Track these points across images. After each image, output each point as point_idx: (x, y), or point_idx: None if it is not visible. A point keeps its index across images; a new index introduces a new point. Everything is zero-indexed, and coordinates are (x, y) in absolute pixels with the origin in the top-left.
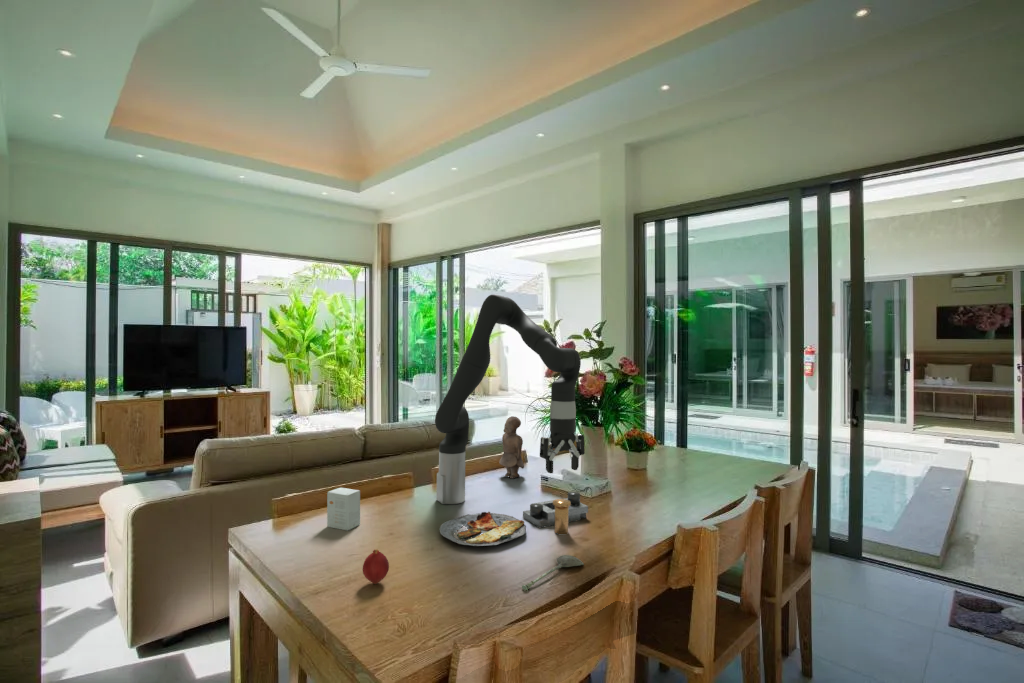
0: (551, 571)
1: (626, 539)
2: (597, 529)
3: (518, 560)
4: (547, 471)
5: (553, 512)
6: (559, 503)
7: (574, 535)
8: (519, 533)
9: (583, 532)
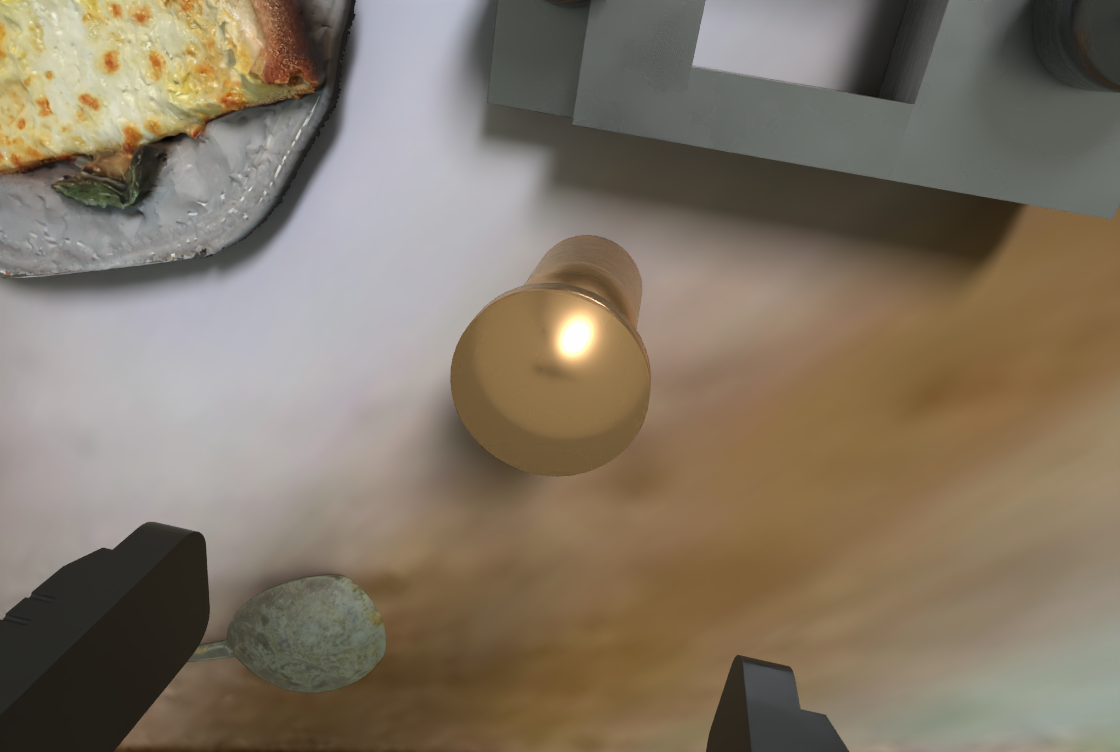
0: None
1: (854, 631)
2: (867, 414)
3: (99, 443)
4: (151, 530)
5: (642, 136)
6: (485, 415)
7: None
8: (228, 188)
9: (726, 390)
